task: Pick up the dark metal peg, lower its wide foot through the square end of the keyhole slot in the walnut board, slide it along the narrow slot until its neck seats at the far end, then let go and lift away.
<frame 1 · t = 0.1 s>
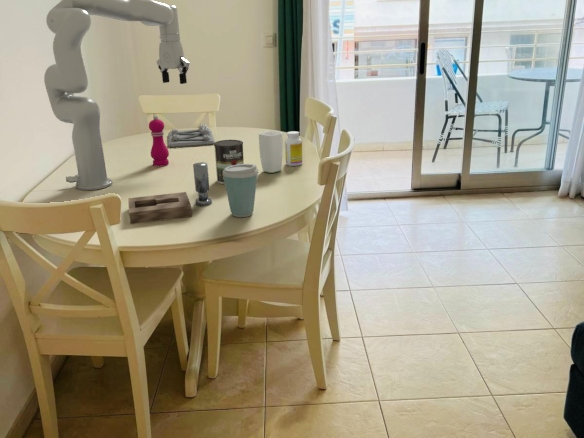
hand: (174, 82, 219), 31 cm above the table, tool pointing down, fingers open, 9 cm apart
cup: (271, 172, 207), on the table
grey piece: (191, 141, 263), on the table
coffee can: (231, 181, 197), on the table
pepper mill: (161, 164, 221), on the table
peg: (203, 203, 174), on the table
keyhole plate: (160, 212, 167), on the table
disposable coffee cup: (242, 214, 164), on the table
supplement bottle: (294, 164, 216), on the table
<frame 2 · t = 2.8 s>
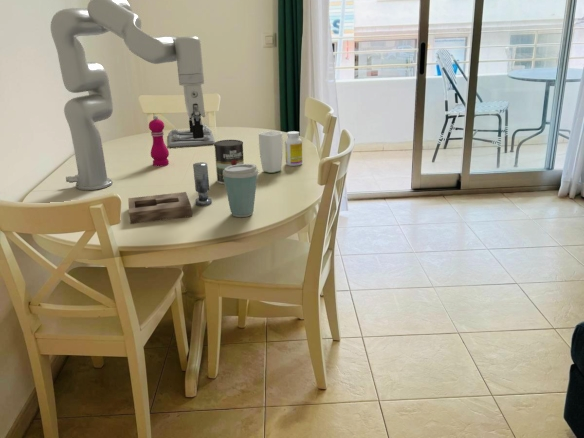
hand: (196, 135, 170), 21 cm above the table, tool pointing down, fingers open, 9 cm apart
nothing on the table moved.
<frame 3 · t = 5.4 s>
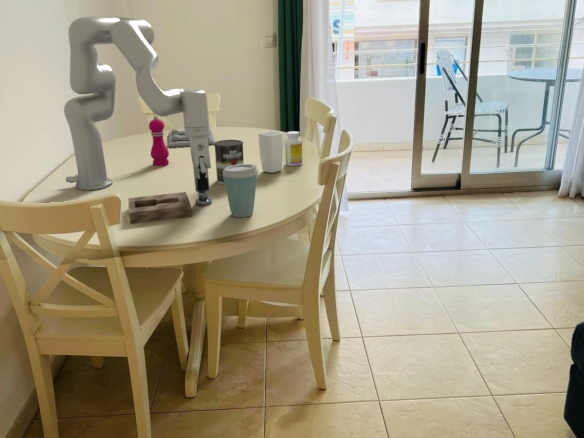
hand: (202, 187, 172), 5 cm above the table, tool pointing down, fingers closed on peg, 4 cm apart
peg: (203, 203, 174), on the table, touching gripper
everything else where it was.
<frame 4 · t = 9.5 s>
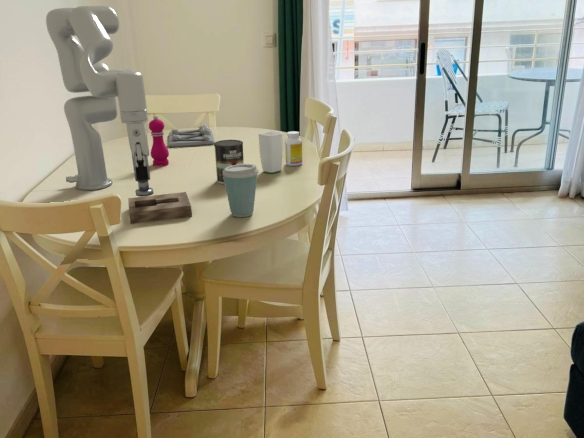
hand: (142, 176, 161), 12 cm above the table, tool pointing down, fingers closed on peg, 4 cm apart
peg: (144, 193, 163), point 7 cm above the table, touching gripper
everything else where it was.
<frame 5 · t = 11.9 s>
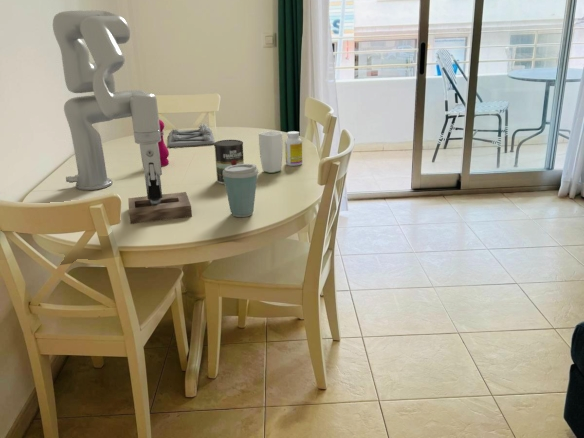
hand: (154, 194, 165), 6 cm above the table, tool pointing down, fingers closed on peg, 4 cm apart
peg: (156, 211, 166), resting in keyhole plate, touching gripper
everything else where it was.
when the fingers open (6 cm above the table, at t = 14.0 s): peg stays where it is, resting in keyhole plate.
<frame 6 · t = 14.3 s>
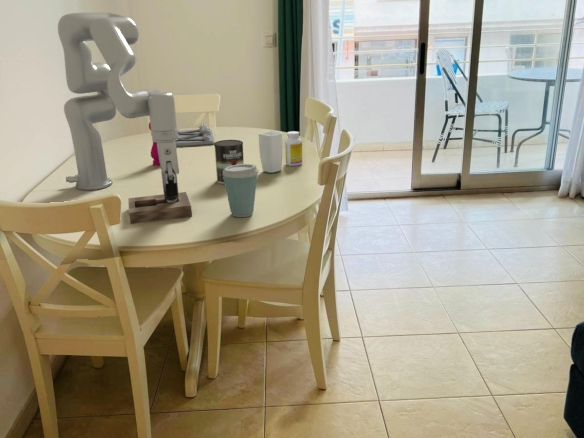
hand: (171, 191, 166), 6 cm above the table, tool pointing down, fingers open, 7 cm apart
peg: (173, 210, 168), resting in keyhole plate
everything else where it was.
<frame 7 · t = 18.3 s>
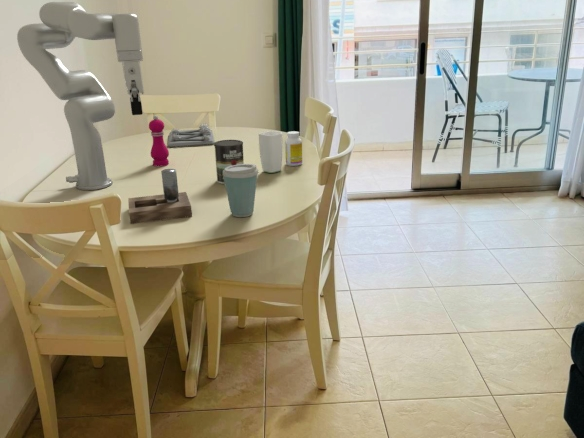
hand: (137, 112, 172), 28 cm above the table, tool pointing down, fingers open, 9 cm apart
nothing on the table moved.
at the end: peg 0.1 cm from the target spot on the keyhole plate, point 0.0 cm above the keyhole plate's base; peg tilted 0°; the gripper is holding nothing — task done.
